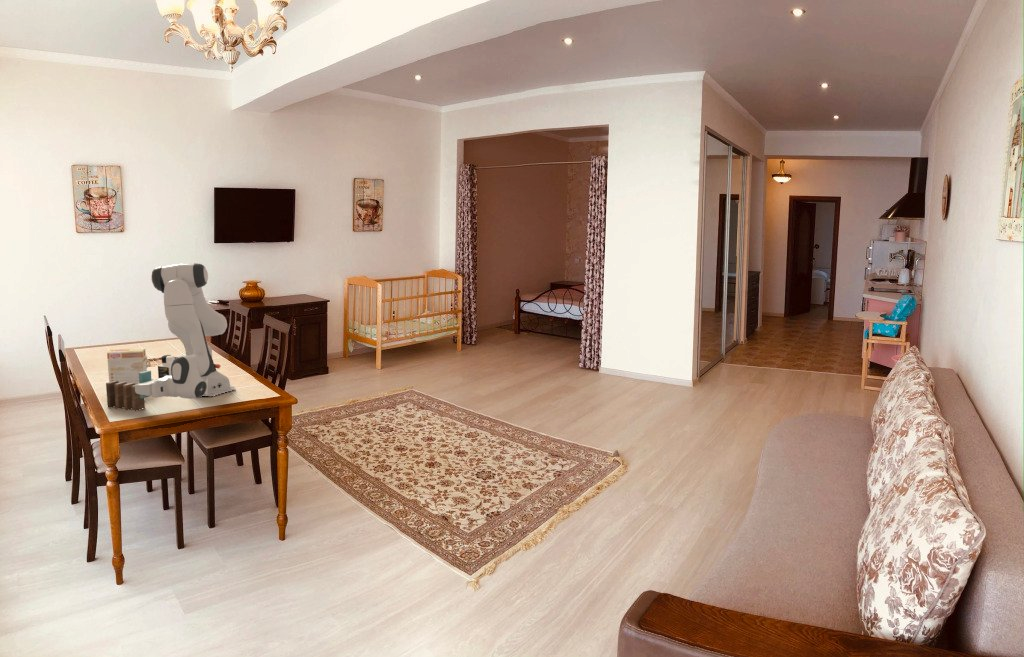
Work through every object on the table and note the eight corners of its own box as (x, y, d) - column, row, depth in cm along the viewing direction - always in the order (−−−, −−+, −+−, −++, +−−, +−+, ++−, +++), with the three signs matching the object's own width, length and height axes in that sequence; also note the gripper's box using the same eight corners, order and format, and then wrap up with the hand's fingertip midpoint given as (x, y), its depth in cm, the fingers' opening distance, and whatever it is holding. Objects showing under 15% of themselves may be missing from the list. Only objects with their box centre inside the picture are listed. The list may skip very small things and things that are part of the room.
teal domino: (152, 395, 291) (150, 370, 289) (143, 398, 286) (141, 373, 284) (149, 395, 291) (147, 370, 289) (140, 397, 286) (138, 372, 285)
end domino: (120, 404, 297) (118, 380, 295) (110, 407, 292) (108, 383, 290) (117, 404, 297) (115, 380, 295) (107, 407, 292) (105, 383, 291)
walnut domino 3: (145, 408, 293) (143, 383, 291) (135, 411, 288) (134, 386, 287) (142, 407, 294) (140, 383, 292) (132, 410, 289) (131, 386, 287)
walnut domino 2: (136, 407, 294) (135, 382, 293) (127, 410, 290) (125, 385, 288) (133, 406, 295) (132, 382, 293) (124, 409, 290) (122, 385, 288)
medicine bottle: (158, 379, 343) (156, 356, 341) (169, 376, 349) (168, 353, 347) (169, 380, 341) (167, 357, 339) (180, 377, 347) (178, 354, 345)
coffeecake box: (148, 387, 326) (145, 348, 323) (145, 391, 320) (142, 351, 316) (113, 389, 322) (110, 349, 318) (109, 393, 315) (106, 352, 312)
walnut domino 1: (128, 405, 296) (126, 381, 294) (118, 408, 291) (117, 384, 289) (125, 405, 296) (123, 381, 294) (116, 408, 291) (114, 384, 289)
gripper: (187, 373, 294) (161, 371, 297) (151, 383, 274) (124, 380, 278) (188, 387, 294) (162, 384, 298) (152, 398, 275) (124, 395, 279)
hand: (143, 383), depth 288 cm, fingers closed on teal domino, 5 cm apart
